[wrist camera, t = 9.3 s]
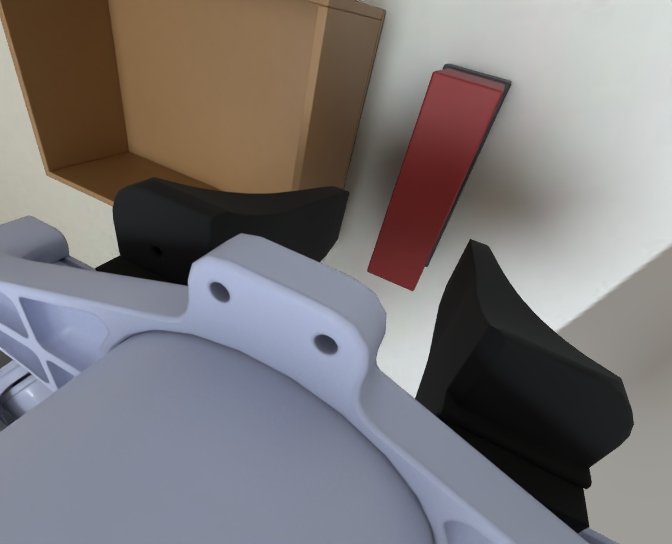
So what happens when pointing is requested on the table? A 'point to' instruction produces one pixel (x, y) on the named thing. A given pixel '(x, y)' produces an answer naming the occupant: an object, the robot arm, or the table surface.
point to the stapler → (435, 170)
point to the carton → (194, 90)
